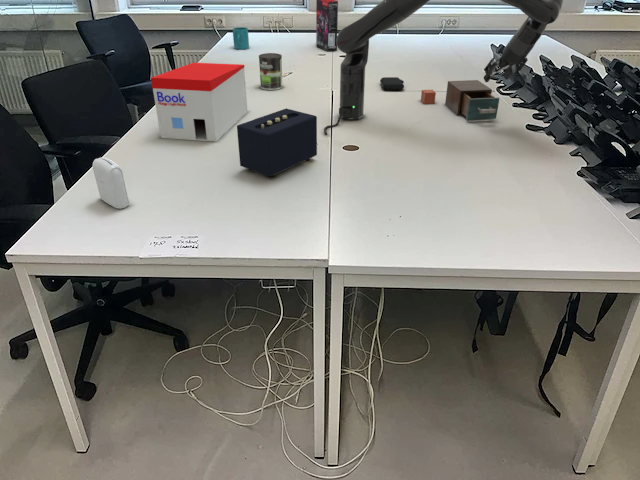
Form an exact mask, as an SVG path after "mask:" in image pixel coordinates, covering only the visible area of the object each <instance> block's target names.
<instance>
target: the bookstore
mask: <svg viewBox="0 0 640 480" xmlns="http://www.w3.org/2000/svg"><path fill="white" fill-rule="evenodd" d="M150 83H151V88H152V93H153V99H154V104H155V109H156V117H157V122H158V128H159V135H160V139H172V140H187V141H198V142H199V141H200V142H201V141H202V142H215V143H216V142H218V141H219V140H220V139H221V138H222V137H223V136H224V135H225V134H226V133H227V132H228V131H229V130H230V129H231V128H232V127H234V125H236V124H237V123H238V122H239V121H240V119H242V118H243V116H245V115H246V114H247V113H248V99H247V86H246V73H245V64H235V63H214V62H213V63H212V62H191V63H188V64H185V65H183V66H180V67H177V68H174V69H171V70H169V71H166V72H163V73H160V74H157V75H154V76H151V77H150Z"/></svg>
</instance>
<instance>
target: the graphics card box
mask: <svg viewBox="0 0 640 480" xmlns="http://www.w3.org/2000/svg"><path fill="white" fill-rule="evenodd" d="M315 1H316V4H315V5H316V7H315V8H316V12H315V14H316V17H315V20H316V21H315V22H316V23H315V25H316V28H315V29H316V31H315V32H316V33H315V35H316V36H315V38H316V39H315V46H316V48H319V49H322V50H324V51H326V52H332V51H338V47H337V43H336V41H337V36H338V24H339V23H338V22H339V21H338V17H339V15H338V14H339V0H315Z"/></svg>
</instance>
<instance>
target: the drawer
mask: <svg viewBox="0 0 640 480" xmlns="http://www.w3.org/2000/svg"><path fill="white" fill-rule="evenodd" d="M499 104H500V97H496V96H494V95H493V94H492V93H491V94H490V93H488V92H469V93H462V98H461V105H460V112H461V113H462V114H463V115H462V116H465V119H466V121H476V120H477V121H481V120H497V117H498V116H497V115H498V109H499Z"/></svg>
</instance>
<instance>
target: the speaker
mask: <svg viewBox="0 0 640 480" xmlns="http://www.w3.org/2000/svg"><path fill="white" fill-rule="evenodd" d="M236 133H237V134H236V135H237V143H238V144H237V145H238V155H239V156H238V157H239V166H240V167H242V168H245V169H248V171H252V172H256V173H258V174H262V175H264V176H266V177H268V178H274V177H275V175H277V174H279V173H281V172H284V171H285V170H288V169H290V168H292V167H294V166H296V165H299V164H301V163H303V162H309V161H310V160H311V159H312V158H314V157H316V156H317V155H318V117H317V116H316V115H314V114H310V113H306V112H302V111H298V110H295V109H291V108H283V109H281V110H278V111H275V112H272V113H268V114H266V115H262V116H260V117H257V118H254V119H251V120H249V121H246V122H243V123H240V124H237V125H236Z"/></svg>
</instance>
